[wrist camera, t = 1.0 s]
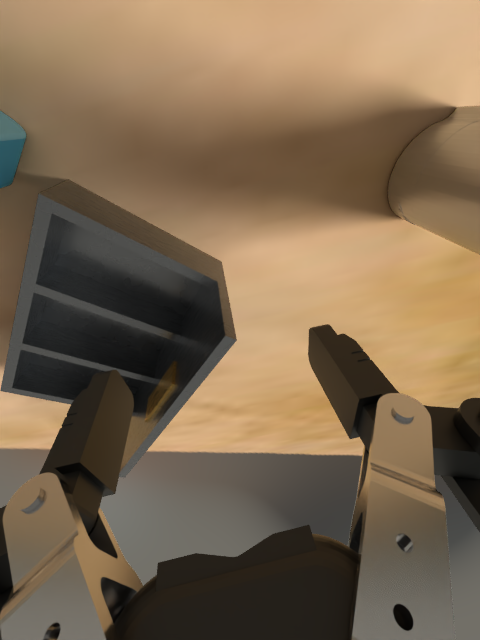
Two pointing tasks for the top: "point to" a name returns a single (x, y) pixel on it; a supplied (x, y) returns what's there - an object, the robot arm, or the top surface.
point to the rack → (115, 311)
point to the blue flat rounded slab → (10, 148)
